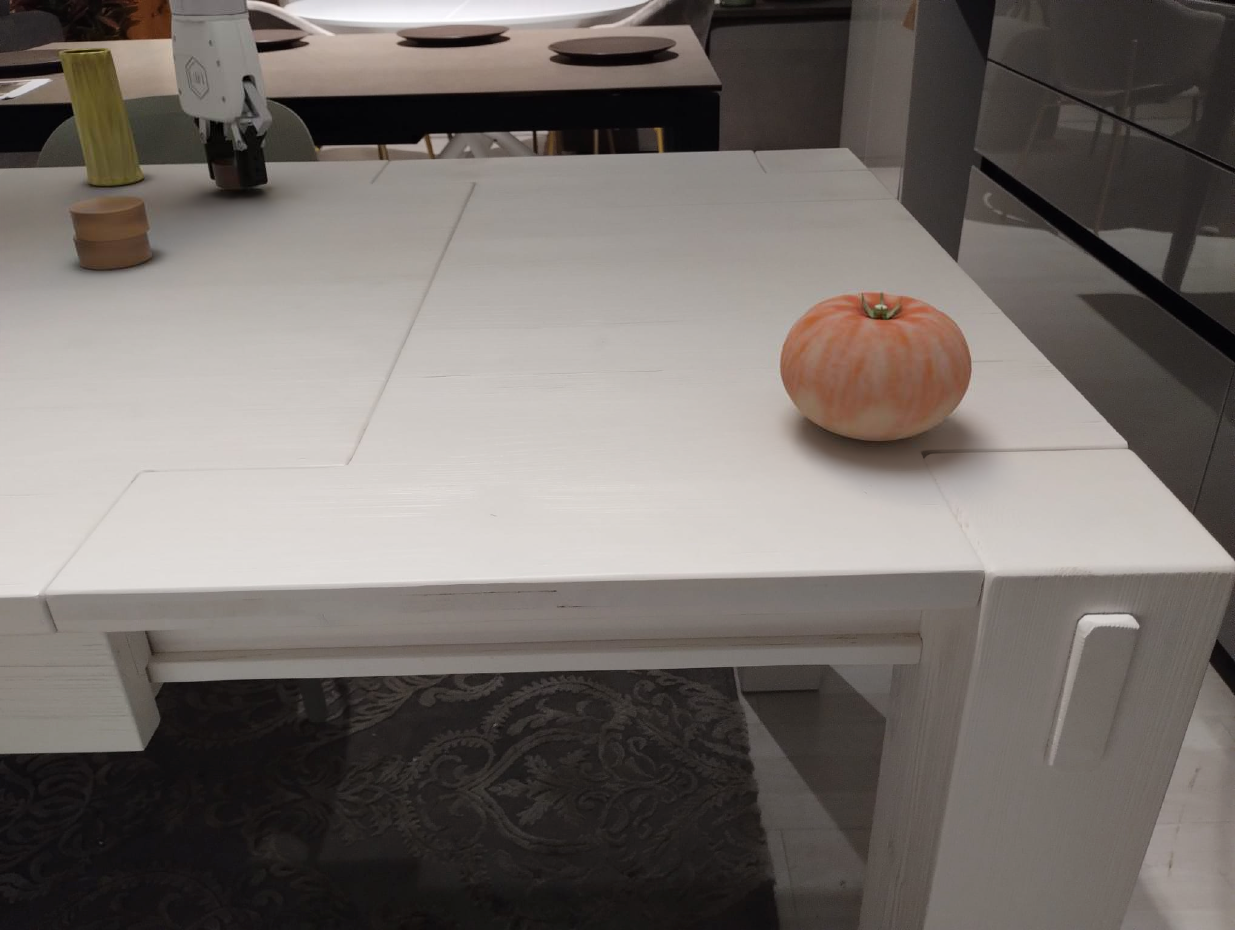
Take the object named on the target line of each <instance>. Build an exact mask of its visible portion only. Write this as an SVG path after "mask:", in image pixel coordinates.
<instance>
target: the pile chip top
mask: <svg viewBox="0 0 1235 930" xmlns="http://www.w3.org/2000/svg"><path fill="white" fill-rule="evenodd" d="M68 211H69V214H70V219H71V222H72V225H73V229H74V234H76V237H77V238H78V239H80V240H83V241H89V242H107V241H117V240H123V239H128V238H132V237H136V236H139V235H142V234H144V233H146V232H147V233H148V231H150V224H149V219H148V215H147V210H146V207H145V203H144V200H143V199H142V198H141V197H136V196H129V195H128V196H127V195H123V196H122V195H117V196H116V195H115V196H103V197H96V198H91V199H86V200H83V201H79V202H77V203H74V204H72V205H71V206H69V208H68Z"/></svg>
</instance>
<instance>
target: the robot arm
mask: <svg viewBox="0 0 1235 930" xmlns="http://www.w3.org/2000/svg"><path fill="white" fill-rule="evenodd" d="M168 3H169V8H170V12H171V13H170V14H171V27H170V30H171V31H170V32H171V46H172V57H173V65H174V73H175V79H176V80H175V81H176V87H177V92H178V99H179V103H180V107H181V110H182V111H183V112H184V113H185V114H187V115H188V116H190V117H191V118H192V119H193V123H194V124H195V126H196V127H197V129H198V130H199V138H200V139H199V140H200V141H201V142H202V143H203V147H204V152H205V157H206V163H207V168H208V173H209V178H210V180H212V181H215V177H214V172H213V166H212V162H213V161H215V160H219V159H223V158H230V157H235V159H236V165H237V170H238V176H239V182H240V186H241V187H244V189H250V188H249V187H251V188H254V187H253V186H256V187H258V185H259V186H263V185H267V184H268V181H269V178H268V172H267V166H266V160H265V153H264V148H265V146H266V141H265V138H266V136H267V133H268V130H269V128H270V127H271V125H272V124H273V121H274V120H273V116H272V114H271V113H270V110H269V109H268V103H267V94H266V87H265V80H264V75H263V70H262V66H261V62H260V57H259V52H258V48H257V43H256V40H255V38H254V34H253V29H252V27H251V24H250V20H249V18H250V15H249V8H248V2H247V0H168ZM241 116H243V117H241ZM229 125H230V129H231V132H232V134H233V137H234V138H233V139H234V141H235V144H236V147H237V149H234V144H233V139H228V138H229ZM245 125H247V126H246V129H245V130H243V127H242V126H245Z"/></svg>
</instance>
